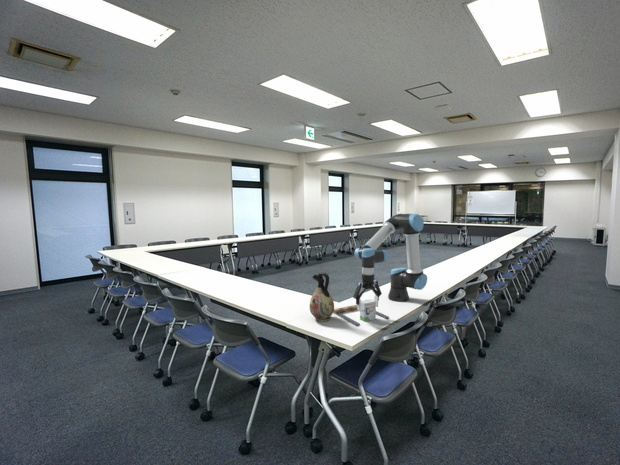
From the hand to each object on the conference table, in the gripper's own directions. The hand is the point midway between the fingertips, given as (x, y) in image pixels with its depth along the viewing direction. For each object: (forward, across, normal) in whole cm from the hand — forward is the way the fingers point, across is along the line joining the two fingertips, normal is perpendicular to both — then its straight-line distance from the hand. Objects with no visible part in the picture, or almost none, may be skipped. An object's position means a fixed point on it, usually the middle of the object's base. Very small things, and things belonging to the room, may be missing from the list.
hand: (367, 307), depth 183 cm
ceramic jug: (+8, +24, -14) cm, 29 cm away
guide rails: (+7, 0, -6) cm, 10 cm away
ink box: (+8, 0, 0) cm, 8 cm away
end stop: (+7, 0, -19) cm, 20 cm away
